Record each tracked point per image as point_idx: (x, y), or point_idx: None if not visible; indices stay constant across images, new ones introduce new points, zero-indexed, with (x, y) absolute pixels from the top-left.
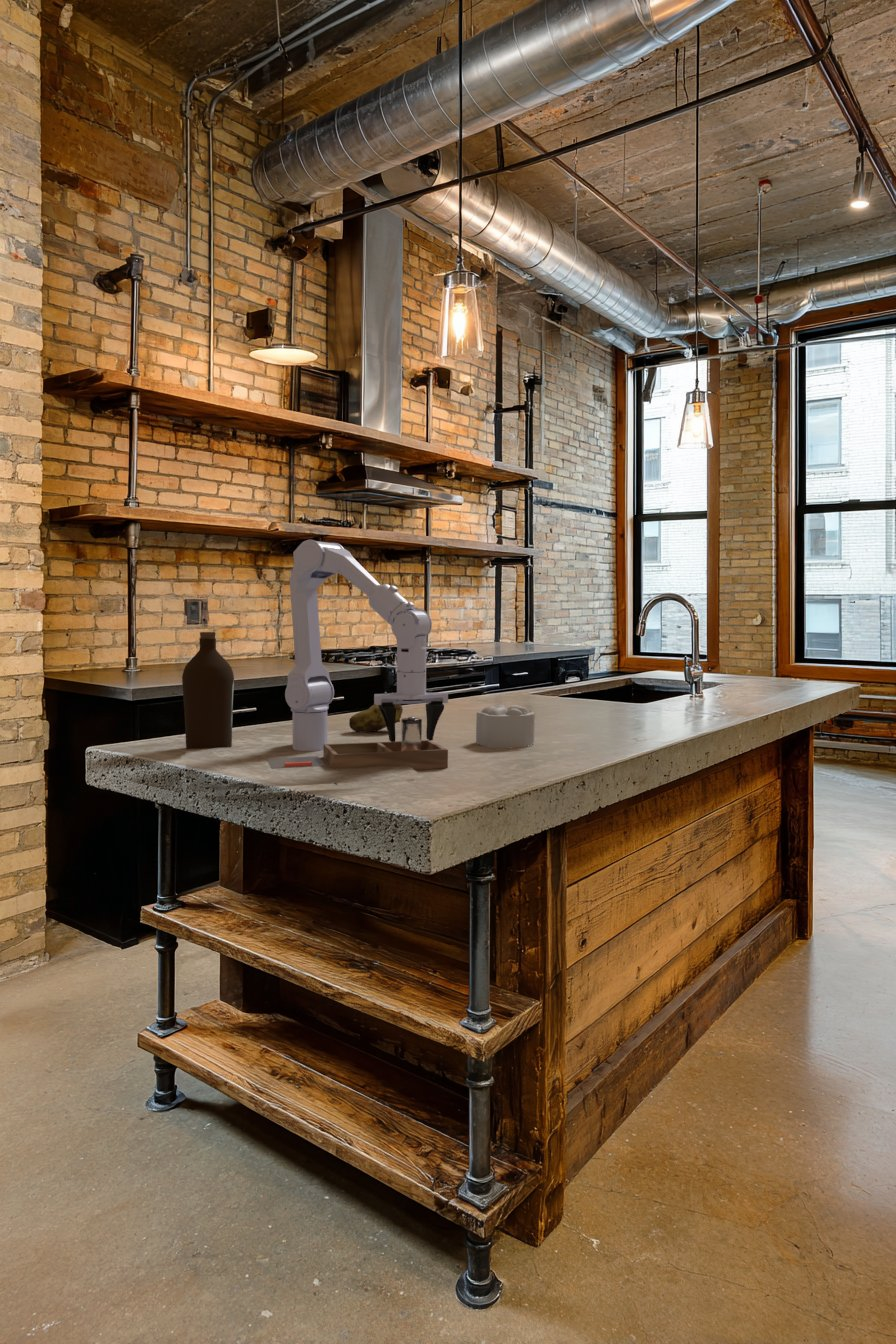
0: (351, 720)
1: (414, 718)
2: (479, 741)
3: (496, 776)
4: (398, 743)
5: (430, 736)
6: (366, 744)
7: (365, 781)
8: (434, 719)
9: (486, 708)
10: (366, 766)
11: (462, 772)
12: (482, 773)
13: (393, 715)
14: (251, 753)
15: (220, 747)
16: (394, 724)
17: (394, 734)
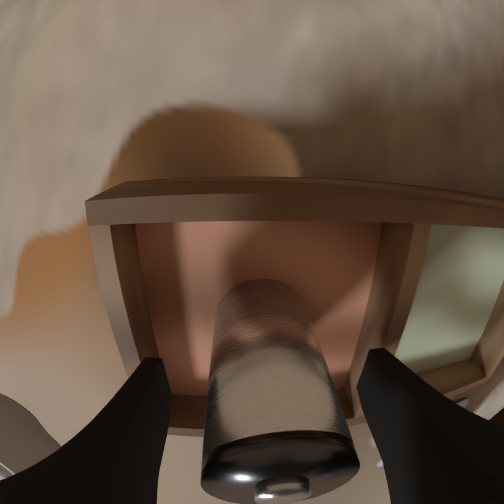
0: None
1: (265, 487)
2: (51, 443)
3: (27, 18)
4: None
5: (152, 370)
6: None
7: (481, 60)
8: (95, 449)
9: None
10: (471, 196)
11: (93, 78)
12: (40, 60)
13: (474, 444)
14: (484, 410)
15: (499, 417)
16: (427, 408)
17: (394, 369)
